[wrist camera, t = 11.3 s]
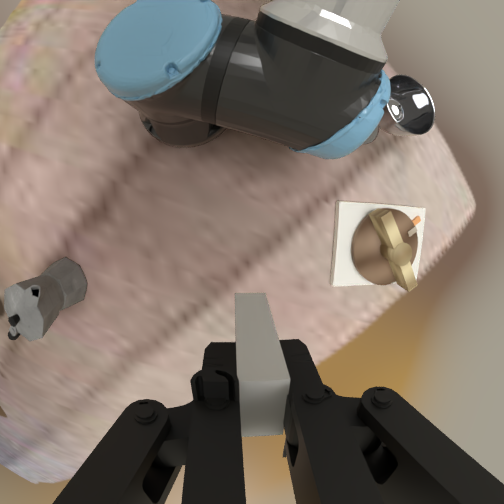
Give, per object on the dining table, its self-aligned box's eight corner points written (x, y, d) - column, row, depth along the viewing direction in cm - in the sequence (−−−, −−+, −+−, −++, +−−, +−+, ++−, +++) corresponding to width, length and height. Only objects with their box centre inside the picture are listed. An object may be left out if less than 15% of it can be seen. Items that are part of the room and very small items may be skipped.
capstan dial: (337, 230, 41) (352, 238, 36) (396, 191, 40) (417, 193, 35) (369, 297, 45) (384, 312, 39) (421, 258, 44) (441, 268, 38)
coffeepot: (70, 239, 40) (4, 268, 23) (102, 278, 43) (46, 325, 25) (37, 288, 42) (-17, 326, 25) (65, 323, 44) (18, 371, 27)
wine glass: (381, 149, 40) (436, 141, 26) (339, 142, 40) (386, 126, 25) (380, 107, 38) (432, 85, 24) (339, 98, 38) (382, 66, 23)
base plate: (336, 200, 42) (340, 201, 40) (420, 207, 43) (427, 208, 41) (329, 283, 45) (334, 287, 43) (411, 279, 47) (417, 282, 44)
